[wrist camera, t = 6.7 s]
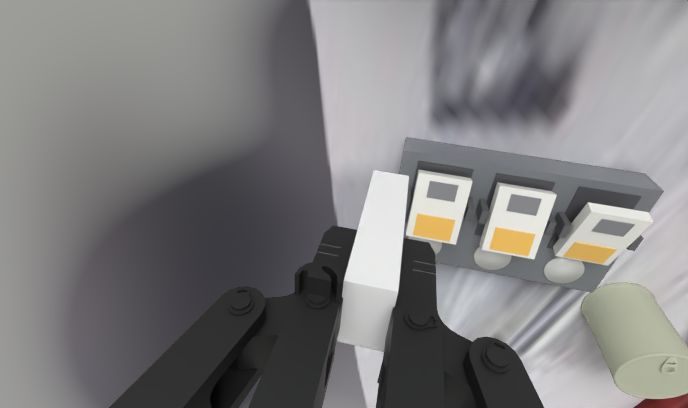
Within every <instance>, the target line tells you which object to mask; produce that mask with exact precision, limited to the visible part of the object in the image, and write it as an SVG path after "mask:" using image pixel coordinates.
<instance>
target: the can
mask: <svg viewBox="0 0 688 408" xmlns="http://www.w3.org/2000/svg"><path fill="white" fill-rule="evenodd" d="M581 310H582V313H583V315H584V317H585V318H586V320H587V322H588V324H589V326H590V328H591V330H592V332H593V334H594V336H595V339H596V341H597V343H598V345H599V347H600V349H601V352H602V354H603V356H604V358H605V361H606V363H607V365H608V367H609V370H610V372H611V374H612V377H613V380H614V383H615V384H616V386H617V387H618V388H619V389H620V390H622V391H623V392H625V393H627V394H629V395H632V396H635V397H640V398H646V399H666V398H673V397H677V396H681V395H684V394H687V393H688V347H687V345H686V344H685V342H684V341H683V340H682V338H681V337H680V335H679V334H678V332H677V331H676V330H675V328H674V327H673V325H672V324H671V322H670V321H669V319H668V318H667V317H666V315H665V314H664V312H663V311H662V309H661V308H660V306H659V305H658V303H657V302H656V300H655V297H654V295H653V294H652V293H651V292H650V291H649V290H648V289H646V288H645V287H643V286H640V285H637V284H632V283H614V284H609V285H605V286H602V287H599V288H597V289H595V291H594V292H591V293H589V294H588V295H587V296H586V297H585V298H584V300H583V302H582V305H581Z"/></svg>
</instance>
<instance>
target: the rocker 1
mask: <svg viewBox="0 0 688 408" xmlns="http://www.w3.org/2000/svg"><path fill="white" fill-rule="evenodd" d="M472 182H473V181H472V180H471V178H467V177H461V176H455V175H448V174H442V173H436V172H430V171H424V170H418V175H417V180H416V184H415V189H414V194H413V199H412V204H411V209H410V213H409V218H408V223H407V228H406V236H412V237H417V238H422V239H428V240H433V241H438V242H444V243H449V244H455V245H456V242H457V238H458V234H459V231H460V227H461V223H462V220H463V216H464V212H465V208H466V205H467V201H468V197H469V193H470V190H471V186H472Z"/></svg>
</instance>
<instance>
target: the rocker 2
mask: <svg viewBox="0 0 688 408" xmlns="http://www.w3.org/2000/svg"><path fill="white" fill-rule="evenodd" d="M652 223H654V222H653V220H652V218H651V216H650V214H649V212H644V211H638V210H632V209H626V208H620V207H614V206H607V205H601V204H595V203H589V202H588V203H587V204H586V205H585V207H584V208H583V209H582V210H581V212H580V213H579V214H578V216H577V217H576V218H575V219H574V221H573V222H572V223H571V225H572V227H571V229H570V230H569V232H568V234H567V236H566V238H559V240H558V241H557V242H556V243H555V245H554V246H553V249H554V253H555V256H558V257H563V258H569V259H574V260H580V261H585V262H591V263H596V264H602V265H607V266H608V265H609V264H610V263H612V262H613V261H614V260H615V259H616V258H617V257H618V256H619V255H620V254H621V253H622V252H623V251H624V250H625V249H626V248H627V247H628V246H629V245H630V244H631V243H633V242H634V241H635V240H636V239H637V238H638V237H639V236H640V235H641V234H642V233H643V232H644V231H645V230H646V229H647V228H648V227H649V226H650V225H651V224H652Z"/></svg>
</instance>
